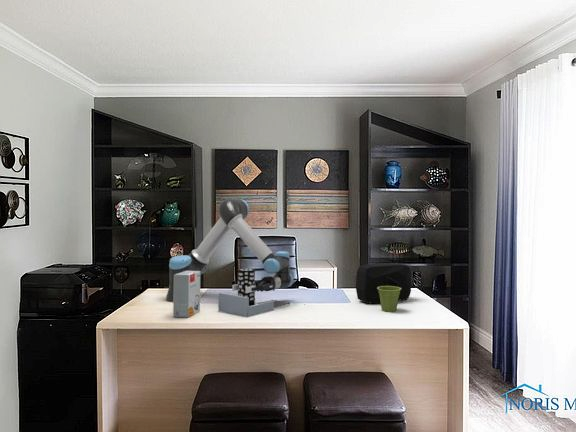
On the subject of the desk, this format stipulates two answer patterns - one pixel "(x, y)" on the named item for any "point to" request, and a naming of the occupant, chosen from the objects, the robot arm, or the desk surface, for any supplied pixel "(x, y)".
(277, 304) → the mat
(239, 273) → the spotted tube
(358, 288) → the black hard case
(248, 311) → the bay
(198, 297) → the hard drive box
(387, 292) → the plant pot
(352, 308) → the desk surface
